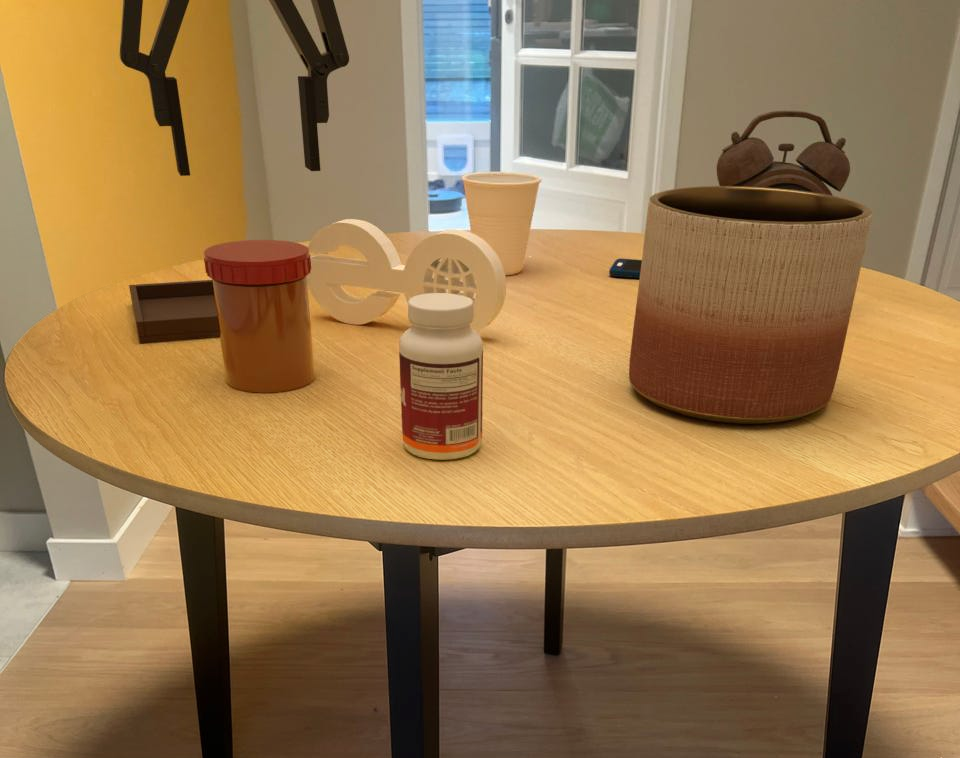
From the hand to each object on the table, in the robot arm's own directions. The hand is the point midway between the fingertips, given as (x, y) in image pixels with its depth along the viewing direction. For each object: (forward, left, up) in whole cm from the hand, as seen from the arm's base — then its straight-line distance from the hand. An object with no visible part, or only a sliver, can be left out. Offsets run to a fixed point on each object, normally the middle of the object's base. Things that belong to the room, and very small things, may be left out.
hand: (249, 171), depth 76 cm
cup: (+35, +34, -17) cm, 52 cm away
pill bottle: (+10, -20, -17) cm, 28 cm away
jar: (0, 0, -17) cm, 17 cm away
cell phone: (+55, +26, -17) cm, 63 cm away
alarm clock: (+57, +8, -17) cm, 60 cm away
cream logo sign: (+16, +12, -17) cm, 26 cm away
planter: (+38, -16, -17) cm, 45 cm away
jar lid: (0, 0, -6) cm, 6 cm away
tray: (-4, +22, -17) cm, 28 cm away
